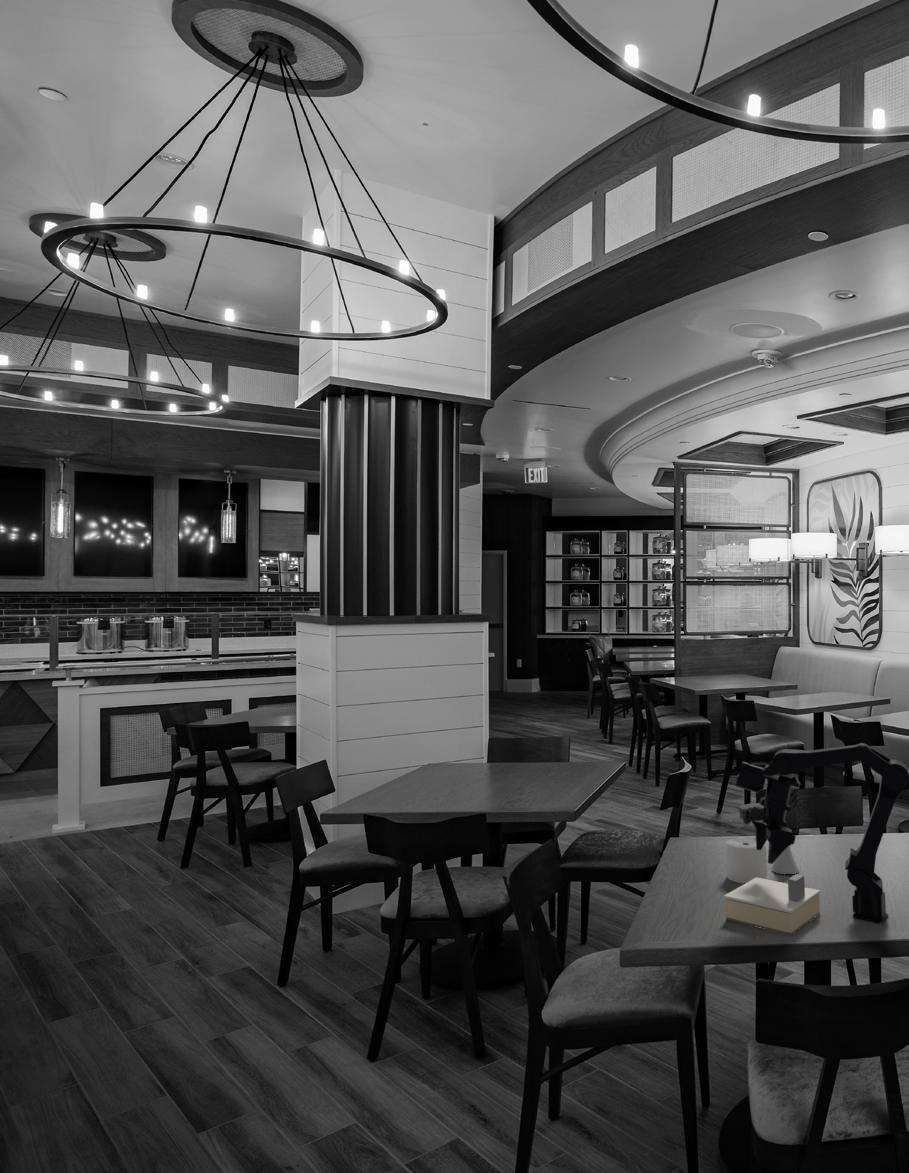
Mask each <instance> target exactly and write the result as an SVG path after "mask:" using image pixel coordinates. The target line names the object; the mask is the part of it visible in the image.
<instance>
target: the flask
mask: <svg viewBox="0 0 909 1173" xmlns="http://www.w3.org/2000/svg"><path fill="white" fill-rule="evenodd" d="M771 869H772V870H773V871H774V872H773V871H772V870H771ZM771 869H770V870H771V871H772V872H773V873H775V872H776V873H775V874H778V873H780V874H779V875H782V874H784V875H783V876H786V875H785V874H796V873H797V874H799V873H800V871H799V868H798V865H797V863H796V861H795V858H794V855H793V853H792V851H791V846H788V847H787V848H786V849H785V850H784V851H783V852H782V853H781V854H780V856H779V857H778V858H777V859H776V860H775V861H774V863H773V864H772V866H771ZM798 872H799V873H798Z"/></svg>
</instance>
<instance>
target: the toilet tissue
mask: <svg viewBox="0 0 909 1173" xmlns="http://www.w3.org/2000/svg"><path fill="white" fill-rule="evenodd" d="M725 844H726V847H725V848H726V870H727V871H726V877H727V879H728V880H730V881H731V882H735V883H738V884H743V883H747V882H749V881H751V880H752V879H754V878H756V877H757V878H762V879H767V880H768V870H767V863H768V860H767V845H766V843H765V844H764V846H763V848H762V849H761V850H757V849H756V837H744V838H743V837H741V838H740V837H739V838H732V839H731V838H730V839H728V840H726V842H725Z"/></svg>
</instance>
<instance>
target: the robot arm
mask: <svg viewBox="0 0 909 1173" xmlns="http://www.w3.org/2000/svg"><path fill="white" fill-rule="evenodd" d="M856 762H862V763H863V764H865V766H867V767H868V768H870V769H871V770H872V771H874V772H875V773H876V774H878V775H880V781H879V788H878V789H879V790H878V794H877V797H876V801H875V803H874V806H873V809H872V811H871V815H870V817H869V820H868V823H867V825H866V829H865V832H864V835H863V837H862V840H861V843H860V844H859V846H858V847H857V849H854V848H852V847H851V848H850V849H849V850H850V851H849V856H848V858H847V859H846V860H845V864H844V865H845V868H844V869H845V870H846V877H847V880H848V881H849V883H850V884H851V885H853V886H854V887H855V889H854V892H853V893H854V894H853V895H852V897H851V898H852V899H851V900H852V901H851V902H852V912H853V914H852V918H857V919H860V920H866V921H868V922H869V921H870V922H875V923H879V924H880V923H883V921H885V920H886V919H888V917H889V914H888V913H887V910H886V909H887V908H886V907H887V905H886V892H885V891H884V888H883V880H882V878H881V877H880V876H879V875H878V874H877V873H875V866H876V858H877V852H878V850H879V847H880V843H881V842H882V839H883V835H884V834H885V830H886V828H887V824H888V821H889V819H890V816H891V813H892V811H893V808H894V804H895V803H896V801H897V799H898V798H899V797H900V795H901V794H902V792H903V791H904V789H905V788H906V786H907V784H908V782H909V770H908V768H907V766H906V764H905V763H903V761H900V760H897V759H891V758H889V757H887V756H886V755H884V754H883V753H881V752H879V751H877V750H875V749H873V748H872V747H870V745H868V744H866V743H863V742H860V743H857V744H852V745H846V746H845V745H844V746H837V747H829V748H820V749H814V750H802V749H792V748H791V749H789V748H783V749H779V750H778V751H776V752H775V754H774V756H773V757H772V760H771V761H770V762H769V763H766V764H765V766H764V767H762V766H758V765H754V764H751V763H749V762H746V761H742V762H741V765H740V769H739V771H738V772H739V773H738V775H737V777H736V784H735V787H736V788H740V789H743V790H746V791H749V792H754V793H756V794H759V792H761V791H764V789H765V785H766V790H765V794H764V797H763V796H761V798H760V799H759V802H757V803H755V802H753V803H746V804H741V805H738V810H739V811H738V812H739V818H740V819H741V820H742V822H743V823H746V824H748V823H749V824H752V826H753V827H754V833H755V838H756V849H757V850H761V849H762V848H763V846H764V844H766V842H768V850H767V853H768V854H767V863H768V864H772V865H773V863H774V861H775V860H776V859H777V858H778V857H779V856H780V854H781V853H782V852H783V851H784V850H785V849H786V848H787V847H788V846H790V847H791V846H792V845H795V842H796V838H797V836H796V834H794V832H793V831H792V830H791V829H790V828H789V827H787V824H788V823H787V821H786V820H785V819H786V815H787V812H789V811H791V806H789V801H790V797H791V796H790V795H791V791H792V786H793V787H795V788H799V787H800V786H801V782H800V781H799V779H798V778H797V775H796V774H795V773H799V772H802V771H805V770H806V769H811V768H815V767H823V766H830V765H832V766H833V765H839V764H847V763H856ZM792 774H795V775H793V776H788V775H792ZM776 775H778V776H776ZM767 780H768V781H767ZM766 781H767V784H766Z"/></svg>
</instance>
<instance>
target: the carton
mask: <svg viewBox="0 0 909 1173" xmlns="http://www.w3.org/2000/svg"><path fill="white" fill-rule="evenodd" d="M820 907H821V906H820V893H819V894H818V895H816V896H815V897H814V898H812V899H811V900H809V901H808V902H806V903H805V904H803V905H802V906H801V907H799V908H798V909H796V910H795V911H793V912H792V913H788V912H784V911H779V910H775V909H770V908H766V907H762V906H757V905H753V904H748V903H744V902H740V901H735V900H731V899H727V898H725V917H726V918H725V920H726V921H729V920H730V922H735V923H738V924H742V923H743V924H742V925H746V924H748V925H747V926H750V925H752V926H751V927H754V926H757V927H756V928H758V927H761V928H760V929H762V928H765V929H764V930H766V929H768V930H767V931H770V930H772V931H771V932H774V931H776V932H775V933H778V932H781V933H780V934H782V933H785V934H784V935H786V934H789V935H788V936H790V935H791V936H793V935H794V934H795V933H794V932H796V931H797V930H798V929H799V928H801V927H802V926H803V925H805V924H806V923H808V922H809V921H810V920H812V919H813V918H814V917H815V916H817V915H818V916H820V915H821V912H820V911H821V908H820ZM819 914H820V915H819ZM818 916H817V917H818ZM814 919H815V918H814ZM814 919H813V920H814ZM813 920H812V921H813ZM810 922H811V921H810ZM810 922H809V923H810ZM809 923H808V924H809ZM806 925H807V924H806ZM806 925H805V926H806ZM802 928H803V927H802ZM802 928H801V929H802ZM798 931H799V930H798ZM798 931H797V932H798ZM797 932H796V933H797ZM793 933H794V934H793ZM792 934H793V935H792Z"/></svg>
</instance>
